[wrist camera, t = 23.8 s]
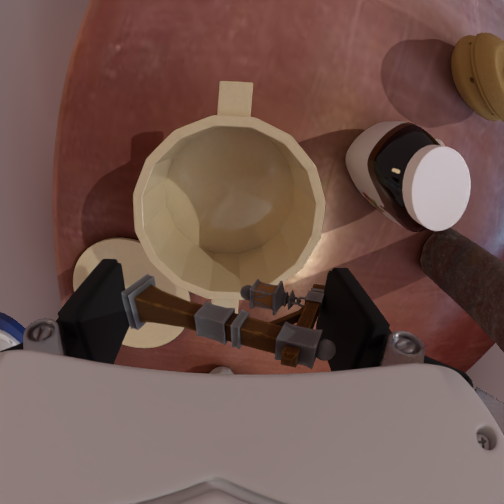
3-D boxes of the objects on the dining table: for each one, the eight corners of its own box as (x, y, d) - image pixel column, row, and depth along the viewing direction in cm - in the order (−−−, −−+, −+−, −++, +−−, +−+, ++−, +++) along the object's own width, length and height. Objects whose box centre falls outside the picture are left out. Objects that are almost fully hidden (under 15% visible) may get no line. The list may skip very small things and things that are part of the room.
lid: (90, 336, 35) (72, 369, 29) (67, 234, 29) (35, 258, 22) (194, 347, 36) (189, 386, 30) (189, 237, 30) (178, 267, 24)
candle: (405, 256, 33) (506, 354, 15) (437, 212, 31) (552, 285, 13) (432, 281, 35) (517, 370, 17) (460, 242, 33) (556, 315, 15)
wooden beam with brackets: (341, 311, 12) (327, 388, 8) (183, 282, 14) (127, 332, 11) (348, 275, 11) (337, 348, 7) (179, 250, 14) (116, 295, 10)
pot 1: (163, 276, 32) (145, 320, 24) (162, 95, 24) (135, 82, 16) (288, 280, 33) (304, 325, 25) (308, 103, 25) (337, 92, 18)
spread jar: (326, 154, 28) (380, 169, 17) (394, 94, 25) (464, 87, 14) (385, 232, 31) (442, 277, 21) (442, 174, 29) (508, 199, 18)
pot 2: (455, 25, 20) (504, 13, 11) (499, 88, 23) (546, 91, 14) (425, 68, 23) (481, 59, 14) (474, 136, 27) (527, 146, 18)
